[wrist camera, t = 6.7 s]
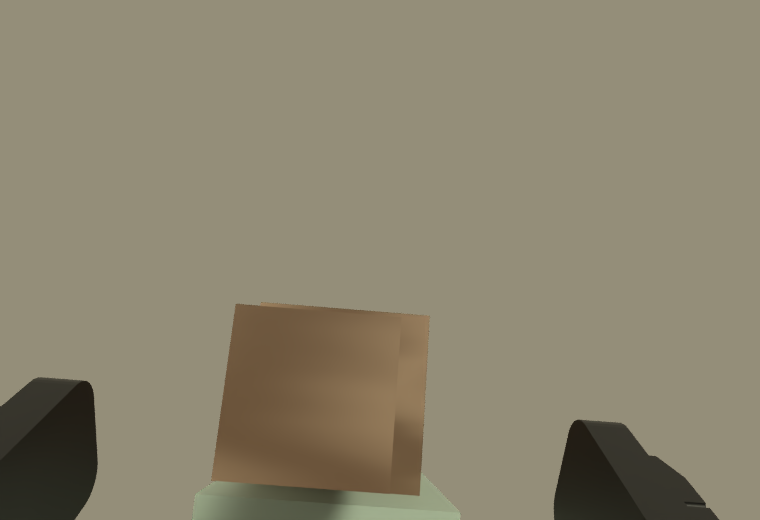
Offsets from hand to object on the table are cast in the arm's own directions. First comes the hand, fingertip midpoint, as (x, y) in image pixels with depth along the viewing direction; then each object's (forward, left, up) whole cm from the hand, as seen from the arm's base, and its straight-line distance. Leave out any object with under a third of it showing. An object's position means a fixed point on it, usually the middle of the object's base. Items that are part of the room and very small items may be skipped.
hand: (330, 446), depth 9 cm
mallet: (0, -7, -2) cm, 8 cm away
